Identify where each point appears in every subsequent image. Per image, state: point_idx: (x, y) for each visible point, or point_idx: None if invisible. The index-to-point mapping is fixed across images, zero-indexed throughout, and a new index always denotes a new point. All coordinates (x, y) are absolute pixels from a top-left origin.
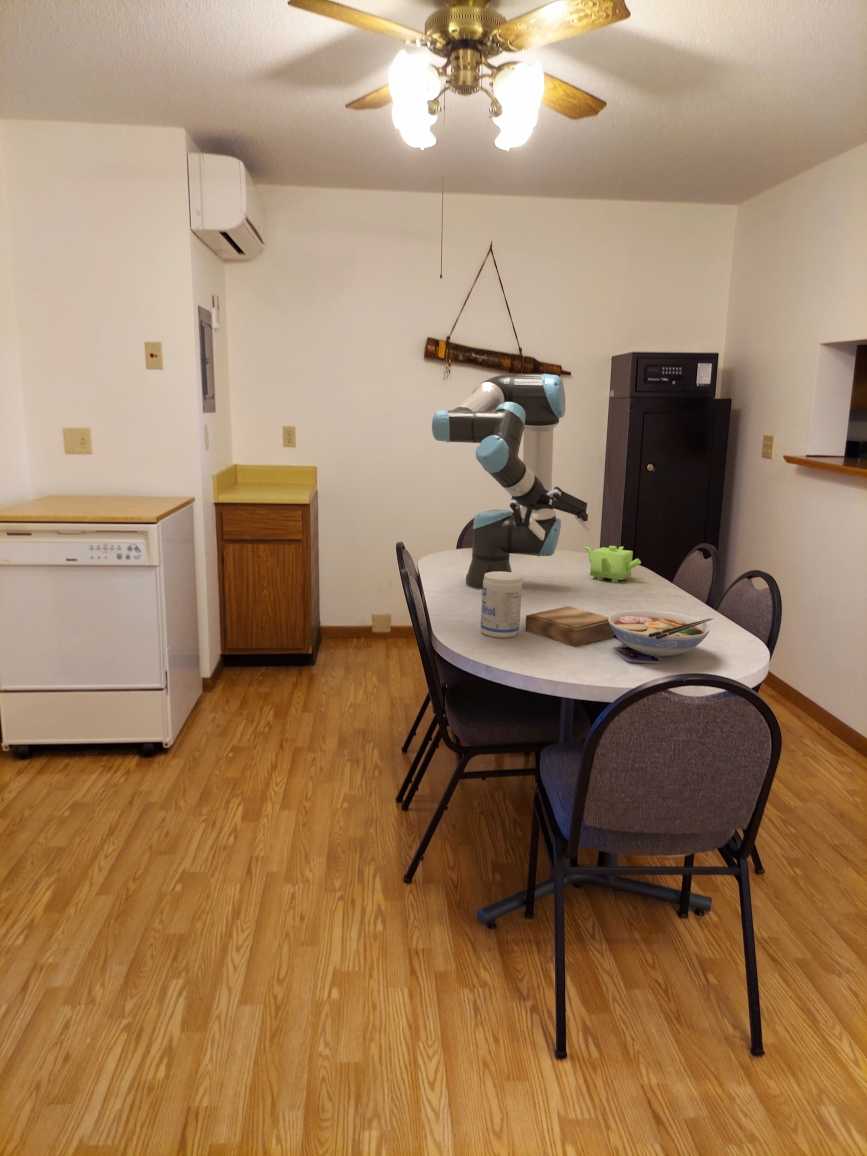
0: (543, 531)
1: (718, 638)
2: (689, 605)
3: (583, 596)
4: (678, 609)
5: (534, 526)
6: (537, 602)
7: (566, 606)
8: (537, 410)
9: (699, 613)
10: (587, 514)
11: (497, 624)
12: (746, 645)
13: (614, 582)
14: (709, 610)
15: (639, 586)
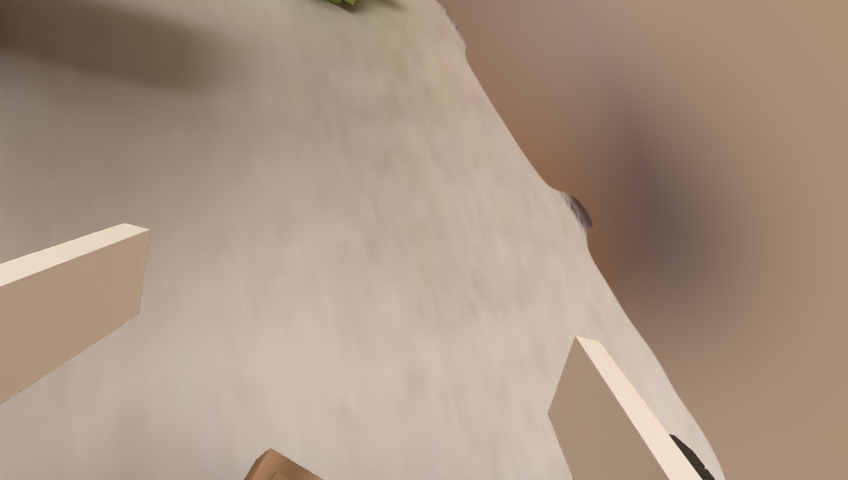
0: (132, 253)
1: None
2: (518, 172)
3: (272, 129)
4: (510, 210)
5: (2, 360)
6: None
7: (264, 459)
8: None
9: (552, 232)
10: (698, 458)
11: None
12: None
13: (333, 1)
14: (559, 203)
15: (392, 33)
